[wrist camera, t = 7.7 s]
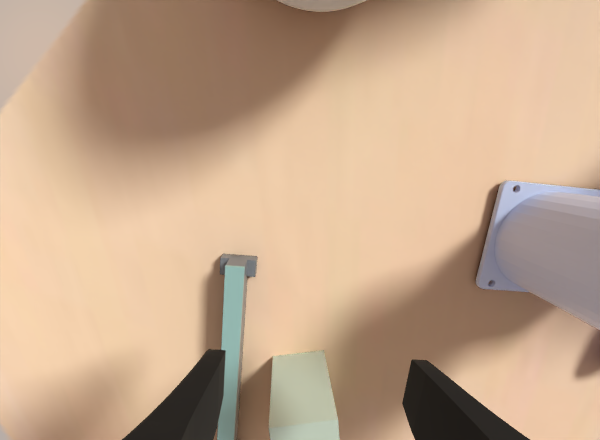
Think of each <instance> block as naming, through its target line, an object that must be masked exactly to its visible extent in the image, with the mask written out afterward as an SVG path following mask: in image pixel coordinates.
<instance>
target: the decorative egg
mask: <svg viewBox="0 0 600 440" xmlns="http://www.w3.org/2000/svg"><path fill="white" fill-rule="evenodd" d="M277 1H279V2H281V3H283V4H285V5H288V6H291V7H294V8H297V9H301V10H307V11H314V12H330V11H336V10H341V9H346V8H349V7H352V6H354V5H357V4H360V3H362V2H364V1H367V0H277Z"/></svg>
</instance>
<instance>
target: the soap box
mask: <svg viewBox="0 0 600 440" xmlns="http://www.w3.org/2000/svg"><path fill="white" fill-rule="evenodd" d="M269 434H270V440H340V438H339V425H338V417H337V412H336V407H335V402H334V397H333V392H332V387H331V382H330V378H329V373H328V368H327V363H326V358H325V353H324V350H322V351H314V352H305V353H297V354H288V355H280V356H273V362H272V379H271V396H270V413H269Z"/></svg>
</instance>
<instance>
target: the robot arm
mask: <svg viewBox="0 0 600 440" xmlns="http://www.w3.org/2000/svg"><path fill="white" fill-rule="evenodd" d="M514 186H516V189H515V191H513V188H514ZM489 281H491V283H490V284H488V283H489ZM476 285H477V286H478V287H480V288H482V289H492V290H506V291H520V292H531V293H533V294H534V295H536V296H538V297H540V298H542V299H544V300H545V301H547V302H549V303H551V304H553V305H555V306H556V307H558V308H560V309H562V310H564V311H565V312H567V313H569V314H571V315H573V316H575V317H576V318H578V319H580V320H582V321H584V322H586V323H587V324H589V325H591V326H593V327H595V328H597V329H598V330H600V190H596V189H586V188H576V187H567V186H557V185H547V184H537V183H527V182H518V181H504V182H502V183H501V184H500V186H499V190H498V194H497V198H496V202H495V206H494V210H493V214H492V218H491V222H490V226H489V230H488V234H487V238H486V242H485V246H484V250H483V254H482V258H481V262H480V266H479V270H478V274H477V278H476ZM225 355H226V350H211V349H209V350H208V351H207V352H206V353H205V354H204V355H203V357H202V358H201V359H200V360H199V362H198V363H197V364H196V365H195V366H194V368H193V369H192V370H191V371H190V372H189V373H188V375H187V376H186V377H185V378H184V379H183V380H182V381H181V383H180V384H179V385H178V386H177V387H176V388H175V389H174V390H173V391H172V392H171V394H170V395H169V396H168V397H167V398H166V399H165V400H164V401H163V402H162V403H161V404H160V405H159V406H158V407H157V408H156V409H155V410H154V411H153V412H152V413H151V414H150V415H149V416H148V417H147V418H146V419H145V420H143V421H142V422H141V423H140V424H139V425H138V426H137V427H136V428H135V429H134V430H133V431H131V432H130V433H129V434H128V435H127V436H126V437H125V438H123V439H122V440H213V438H214V435H215V432H216V429H217V425H218V420H219V415H220V411H221V406H222V401H223V396H224V375H225ZM402 404H403V407H404V410H405V413H406V416H407V419H408V422H409V425H410V428H411V431H412V433H413V436H414V438H415V440H530V439H528V438H527V437H525V436H524V435H522V434H521V433H520V432H518V431H517V430H515V429H514V428H513V427H511V426H510V425H509V424H507V423H506V422H505V421H503V420H502V419H501V418H499V417H498V416H496V415H495V414H494V413H493V412H491V411H490V410H489V409H487V408H486V407H485V406H483V405H482V404H481V403H480V402H478V401H477V400H476V399H475V398H473V397H472V396H471V395H470V394H468V393H467V392H466V391H465V390H463V389H462V388H461V387H460V386H458V385H457V384H456V383H455V382H454V381H452V380H451V379H450V378H449V377H447V376H446V375H445V374H444V373H442V372H441V371H440V370H439V369H437V368H436V367H435V366H434V365H432V364H431V363H430V362H428V361H427V360H411V365H410V370H409V375H408V379H407V384H406V389H405V394H404V398H403V403H402Z"/></svg>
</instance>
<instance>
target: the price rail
mask: <svg viewBox="0 0 600 440" xmlns="http://www.w3.org/2000/svg"><path fill="white" fill-rule="evenodd" d="M256 268H257V256H245V255H232V254H223V255H222V256H221V258H220V274H222V275H225V281H224V303H223V325H222V347H221V350H226V355H225V375H224V396H223V401H222V406H221V411H220V415H219V420H218V435H217V440H237V432H238V417H239V401H240V386H241V370H242V354H243V339H244V323H245V308H246V292H247V276H250V277H255V275H256Z"/></svg>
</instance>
